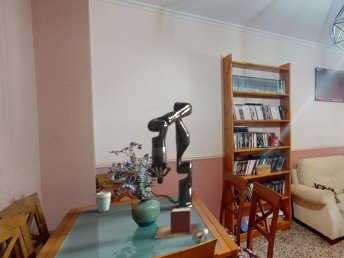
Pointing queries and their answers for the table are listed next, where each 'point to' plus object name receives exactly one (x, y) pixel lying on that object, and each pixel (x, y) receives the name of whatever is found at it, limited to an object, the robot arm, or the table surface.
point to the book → (180, 220)
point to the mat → (166, 233)
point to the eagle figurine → (200, 235)
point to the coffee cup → (103, 201)
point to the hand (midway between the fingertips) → (160, 183)
